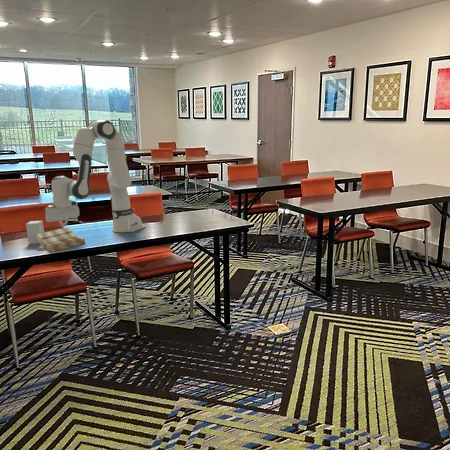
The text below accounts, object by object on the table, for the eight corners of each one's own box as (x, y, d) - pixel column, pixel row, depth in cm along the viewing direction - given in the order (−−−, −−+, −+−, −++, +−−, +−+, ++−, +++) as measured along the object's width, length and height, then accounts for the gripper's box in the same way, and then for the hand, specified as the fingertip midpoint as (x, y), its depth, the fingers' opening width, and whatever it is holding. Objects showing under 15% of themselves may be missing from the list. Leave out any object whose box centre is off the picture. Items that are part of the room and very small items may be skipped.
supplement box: (45, 240, 255) (43, 220, 252) (41, 243, 247) (38, 223, 244) (33, 241, 254) (30, 220, 251) (28, 244, 247) (25, 223, 244)
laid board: (77, 241, 251) (76, 235, 250) (85, 243, 246) (84, 237, 245) (46, 249, 236) (45, 243, 235) (53, 251, 231) (53, 245, 230)
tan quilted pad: (67, 230, 255) (68, 226, 253) (75, 239, 252) (76, 235, 250) (36, 238, 240) (37, 233, 238) (44, 247, 237) (45, 243, 235)
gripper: (47, 207, 236) (50, 230, 239) (79, 201, 251) (81, 224, 255) (41, 206, 240) (44, 229, 243) (73, 200, 255) (76, 222, 258)
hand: (64, 226), depth 249 cm, fingers closed
